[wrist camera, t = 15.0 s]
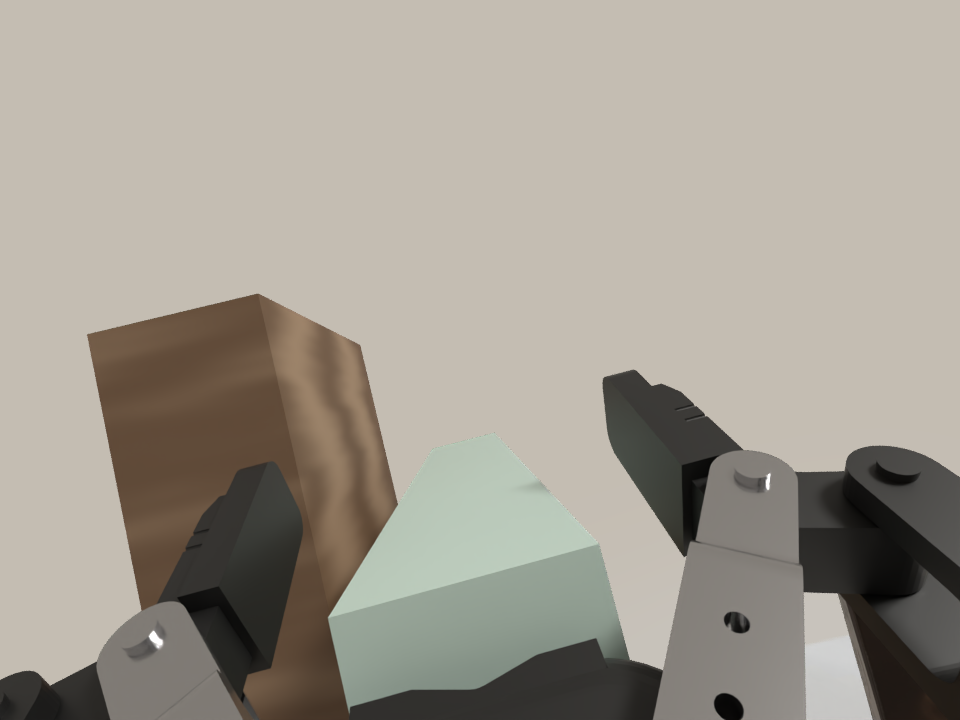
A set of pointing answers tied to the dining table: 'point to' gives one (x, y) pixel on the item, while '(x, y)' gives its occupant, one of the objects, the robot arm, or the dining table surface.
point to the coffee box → (886, 677)
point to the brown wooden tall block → (249, 462)
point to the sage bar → (470, 580)
